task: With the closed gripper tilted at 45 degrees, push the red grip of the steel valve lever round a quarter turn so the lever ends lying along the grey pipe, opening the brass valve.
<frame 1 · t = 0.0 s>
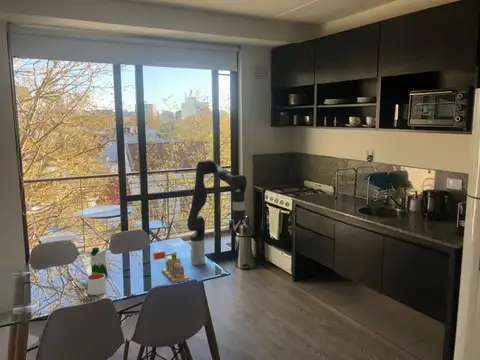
hand: (239, 234, 249), 29 cm above the table, tool pointing down, fingers open, 8 cm apart
valve: (175, 275, 265), on the table
milk carton: (100, 277, 267), on the table
cup: (97, 293, 242), on the table
lever: (165, 254, 260), point 16 cm above the table, hinge at 0.0°
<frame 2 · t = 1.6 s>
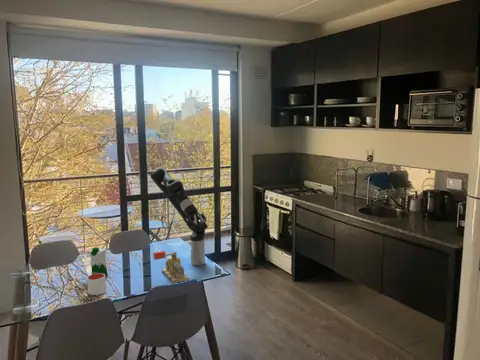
hand: (203, 229, 249), 33 cm above the table, tool tilted 45°, fingers open, 5 cm apart
nothing on the table moved.
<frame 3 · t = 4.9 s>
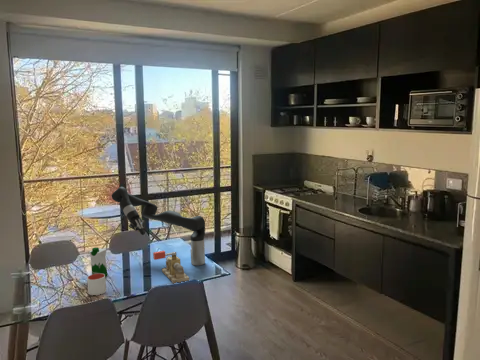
hand: (143, 234, 266), 27 cm above the table, tool tilted 45°, fingers closed
nothing on the table moved.
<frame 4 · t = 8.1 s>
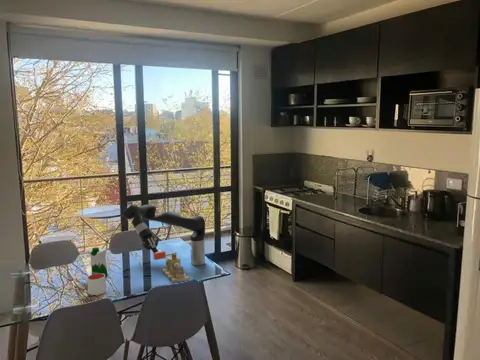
hand: (156, 253, 259), 16 cm above the table, tool tilted 45°, fingers closed
lever: (165, 254, 260), point 16 cm above the table, hinge at 1.8°, touching gripper
everything else where it was.
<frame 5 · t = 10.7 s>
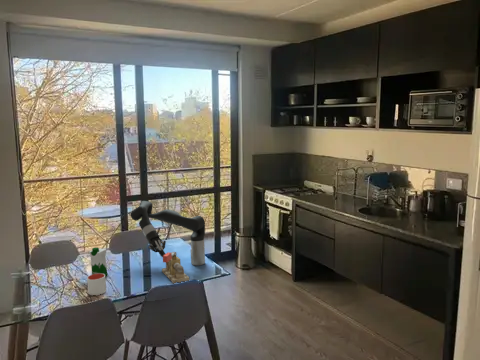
hand: (163, 256, 254), 16 cm above the table, tool tilted 45°, fingers closed
lever: (169, 255, 257), point 16 cm above the table, hinge at 46.3°, touching gripper
everything else where it was.
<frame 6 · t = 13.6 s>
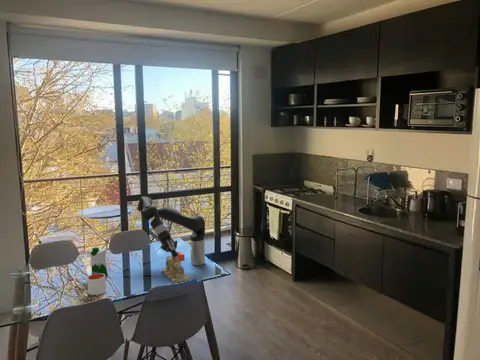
hand: (175, 255, 254), 16 cm above the table, tool tilted 45°, fingers closed
lever: (177, 254, 258), point 16 cm above the table, hinge at 94.6°, touching gripper
everything else where it was.
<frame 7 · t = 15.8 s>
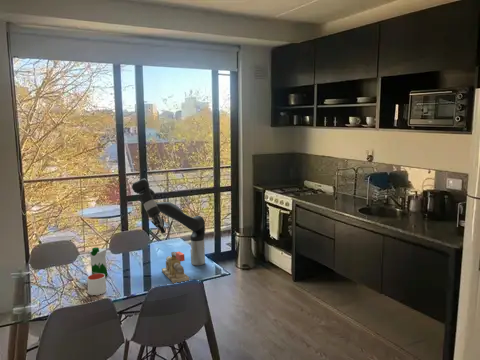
hand: (163, 233, 255), 30 cm above the table, tool tilted 35°, fingers closed
lever: (177, 254, 258), point 15 cm above the table, hinge at 94.7°
everything else where it was.
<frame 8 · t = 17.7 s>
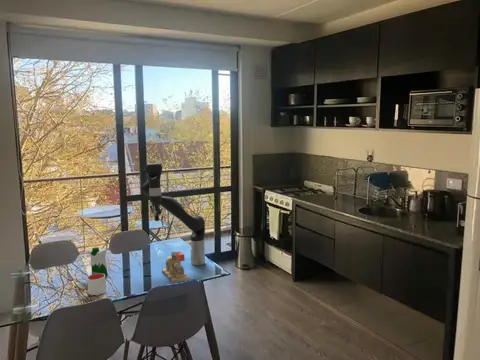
hand: (156, 220, 266), 35 cm above the table, tool pointing down, fingers closed
nothing on the table moved.
at the end: lever at +95° (first picture: +0°) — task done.
